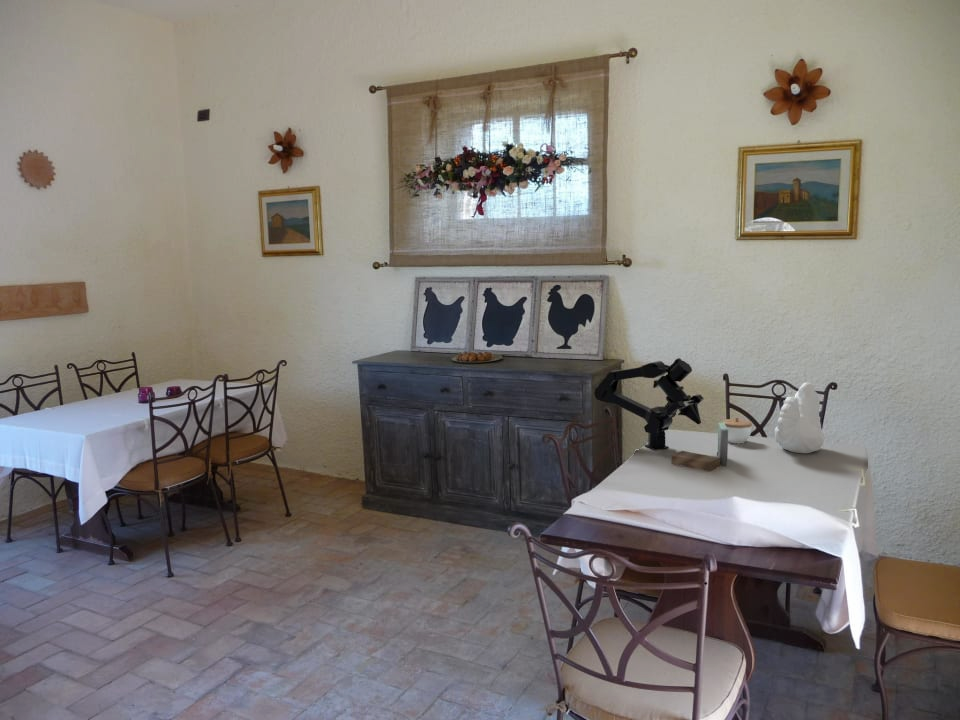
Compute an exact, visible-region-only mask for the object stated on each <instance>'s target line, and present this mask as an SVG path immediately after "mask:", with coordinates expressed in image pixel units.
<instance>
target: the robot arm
mask: <svg viewBox="0 0 960 720" xmlns="http://www.w3.org/2000/svg"><path fill="white" fill-rule="evenodd" d="M692 371H693V368H692V366H691V365H690V364H689V363H688V362H686V361H684V360H682V359H681V358H679V357H678V358H676V359H674V362H673V363H671V365H668V364H665V363H664V362H663V361H661V360H657V361H653V362H649V363H647V364H644V365H641V366H638V367H631V368H626V369H620V370H618V369H615V370H611V371H609V372H608V373H607V375H606V376H605V377H604V378H603V380H602V381H601V382H599V384H598V386H596V388H595V389H594V398H595V399H596V401H598V402H601V403H605V404H606V403H607V404H613V405H614V406H618V407H620V408H621V409H623V410H625V411H628V412H629V413H632V414H634V415H635V416H638V417H640V418H642V419H644V420H645V422H646V423H647V424H645V425H644V426H643V428H644V431H645V433H646V434H648V436H647V441H648V442H647V444H644V447H647V448H649V449H651V450H653V451H657V450H664V449H669V446H668V445H666V431H668V430H669V427H670V426H671V425H672V424H673V418H675V417H676V416H684V417H687V418H688V419H689V420H691V421H693V422H694V424H695V423H696V424H697V425H701V424H702V421H701V417H700V412H699V406H698V405H699V404H700V403H701V402H702V401H703V400H704V396H702V394H694V395H692V396H691V395H690V394H688V395H687V393H686V392H685V391H684V389H685V388H684V386H681V385H679V384H678V383H679V382H682V381H684V380H685V378H687V377H688V376H689V375H690V373H692ZM665 374H666V375H665ZM636 378H643V379H655V378H658V379H655V380H653V386H652V388H653V389H656V388H660V389H661V390H662V392H663V393H664V394H665V395H666V396H665V400H666V401H667V403H666V404H665V405H662V406H656V407H655V406H654V407H652V408H650V407H649V406H647V405H644V404H642V403H640V402H638V401H637V400H634V399H632V398H631V397H630V398H629V397H628V396H626V395H624V394H622V393H621V392H620V391H619V390H618V387H619V383H620V381H621V380H628V379H636ZM677 412H678V413H677Z"/></svg>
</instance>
